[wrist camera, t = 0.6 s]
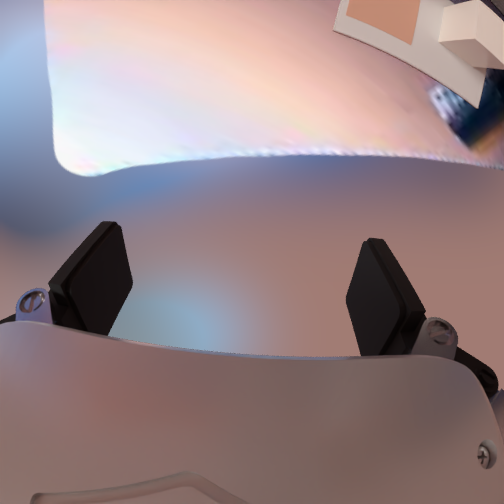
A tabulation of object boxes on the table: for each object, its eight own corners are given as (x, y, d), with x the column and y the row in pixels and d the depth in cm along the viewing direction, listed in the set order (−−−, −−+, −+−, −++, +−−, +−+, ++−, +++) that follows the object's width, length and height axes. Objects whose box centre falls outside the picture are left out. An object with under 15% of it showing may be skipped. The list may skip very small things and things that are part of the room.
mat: (353, -49, 18) (354, -50, 17) (489, 34, 20) (491, 34, 20) (332, 30, 26) (333, 29, 26) (475, 107, 29) (477, 108, 28)
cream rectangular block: (444, 7, 20) (478, -1, 12) (477, 32, 21) (513, 31, 13) (438, 42, 24) (474, 38, 16) (472, 66, 24) (509, 70, 17)
